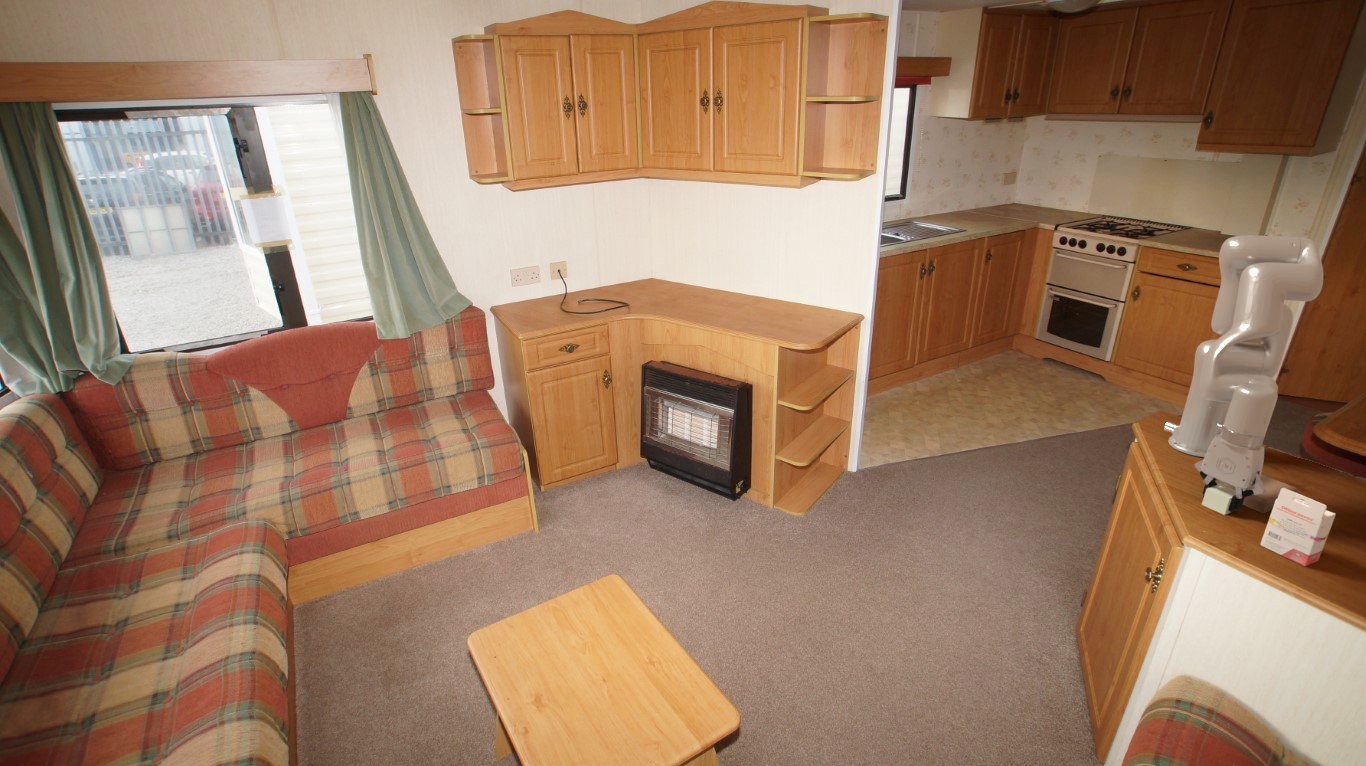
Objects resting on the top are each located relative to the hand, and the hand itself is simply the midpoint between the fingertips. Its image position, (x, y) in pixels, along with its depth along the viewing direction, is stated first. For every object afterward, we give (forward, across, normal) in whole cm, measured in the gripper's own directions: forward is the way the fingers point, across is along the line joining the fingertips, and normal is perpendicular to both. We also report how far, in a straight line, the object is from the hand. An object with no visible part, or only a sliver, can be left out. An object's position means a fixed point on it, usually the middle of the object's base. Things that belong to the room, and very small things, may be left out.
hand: (1220, 503), depth 158 cm
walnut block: (+1, 0, +12) cm, 12 cm away
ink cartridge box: (+1, +17, -6) cm, 18 cm away
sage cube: (+1, 0, 0) cm, 1 cm away
